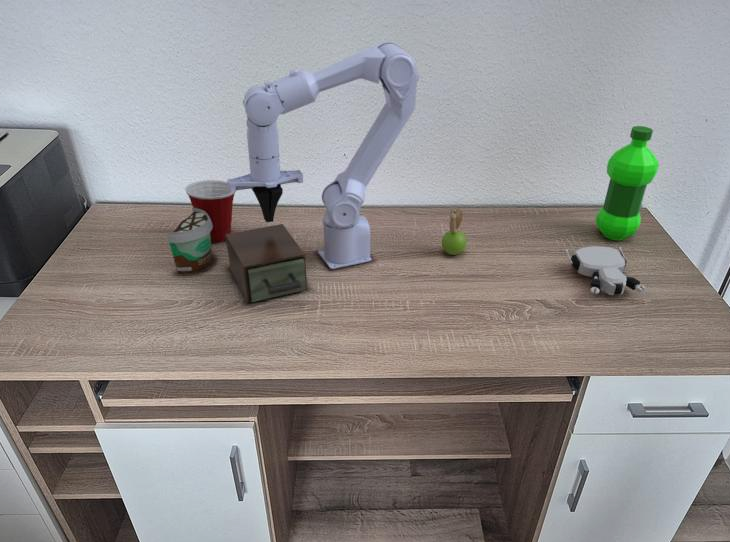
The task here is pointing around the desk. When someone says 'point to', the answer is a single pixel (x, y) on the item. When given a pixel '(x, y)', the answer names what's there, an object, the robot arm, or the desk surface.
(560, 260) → the desk surface
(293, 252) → the cabinet
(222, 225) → the plastic cup
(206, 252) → the food container
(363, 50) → the robot arm
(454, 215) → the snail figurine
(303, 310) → the desk surface
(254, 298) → the drawer
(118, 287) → the desk surface
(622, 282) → the robot toy
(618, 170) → the plastic bottle
